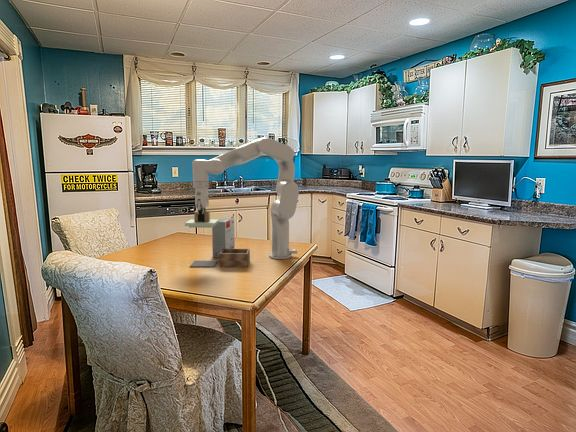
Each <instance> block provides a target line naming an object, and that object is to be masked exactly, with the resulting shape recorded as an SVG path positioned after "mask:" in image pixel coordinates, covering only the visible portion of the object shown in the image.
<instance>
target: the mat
mask: <svg viewBox="0 0 576 432" xmlns="http://www.w3.org/2000/svg"><path fill="white" fill-rule="evenodd" d="M217 263H218V260H194V261H192V263H191V264H190V265H189V268H215V267H216V264H217Z"/></svg>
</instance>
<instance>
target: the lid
mask: <svg viewBox="0 0 576 432" xmlns="http://www.w3.org/2000/svg"><path fill="white" fill-rule="evenodd" d="M210 216H211V212H210V210H206V211H204V217H205V222H198V210H195V211H194V212H193V219H189V220H188V221H186V222H185V223H184V226H185V227H188V228H203V229H204V228H205V229H207V228H212V227H213V226H215V225H217V224H218V223H219V220H218V219H213V218H212V219H211V217H210Z"/></svg>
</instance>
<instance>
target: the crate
mask: <svg viewBox="0 0 576 432" xmlns="http://www.w3.org/2000/svg"><path fill="white" fill-rule="evenodd" d="M250 253H251V252H250V248H235V249H222V251H221V252H220V254H219V256H220V257H219V268H249V265H250V262H251V259H250V258H251V254H250Z"/></svg>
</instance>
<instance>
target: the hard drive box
mask: <svg viewBox="0 0 576 432" xmlns="http://www.w3.org/2000/svg"><path fill="white" fill-rule="evenodd" d="M217 220H219V223H218V224H217V225H215V226H213V227H212V229H211V234H212V238H211V239H212V246H211V247H212V257H213V258H220V256H219V254H220V252H221V251H222V249H236V247H235V242H236V241H235V218H234V217H221V218H218V219H217Z"/></svg>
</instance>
